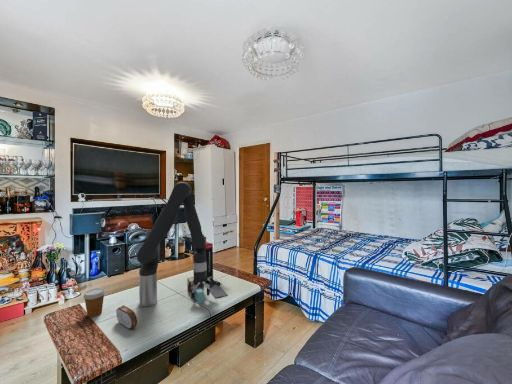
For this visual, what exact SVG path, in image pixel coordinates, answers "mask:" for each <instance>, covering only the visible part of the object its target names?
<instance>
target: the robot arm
mask: <svg viewBox="0 0 512 384" xmlns="http://www.w3.org/2000/svg"><path fill="white" fill-rule="evenodd" d="M172 188H173V189H172V190H171V193H170V195H169V198H168V200H167V202H166V204H165V205H164V206H163V208H162V210H161V211H160V213H159V215H158V217H156V220H155V222H154V224H153V226H152V228H151V230H150V232H149V233H148V236H147V237H146V239H145V241H144V242H143V243H142V246H141V247H139V249H138V251H137V253H136V259H137V261H138V263H139V264H141V266H140V268H139V269H138V270H139V272H138V274H139V275H138V276H139V288H138V289H139V292H138V293H139V294H138V295H139V298H138V299H139V300H138V301H139V307H141V308H142V307H150V306H154V305H155V304H157V302H158V267H159V250H158V247H159V245H160V243H161V242H162V241H163V239H165V237H166V236H167V234H168V233H169V232H170V231H171V229H172V227H173V225H174V224H175V221H176V219H177V217H178V212H179V210H180V207H181V205H183V208H184V216H185V221H186V224H187V228H188V230H189V233H190V238H191V242H192V246H193V245H194V265H193V268H192V269H193V277H194V280H193V281H188V291H187V293H188V292H191V297H192V298H191V299H193V300H194V299H195V298H194V291H195V290H196V289H197V287H198V288H199V287H204V288H205V287H206V295H207V296H208V297H209V296H210V294H211V292H210V288H212V287H213V280H212V277H209V278H207V265H206V253H205V249H206V242H207V241H206V237H205V235H204V234H203V230H202V225H201V221H200V218H199V216H198V212H197V209H196V205H195V202H194V198H193V197H194V196H193V195H194V194H193V189H192V185H191V184H190V183H188V182H186V181H180V182H177V183H175V184H174V187H172ZM207 280H208V281H209V282H207ZM192 283H194V286H193V288H192V289H191V285H192ZM207 283H209V285H208V284H207Z"/></svg>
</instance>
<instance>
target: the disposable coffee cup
mask: <svg viewBox="0 0 512 384" xmlns="http://www.w3.org/2000/svg"><path fill="white" fill-rule="evenodd" d="M105 294H106V290H105V289H104V288H101V287H100V288H98V287H97V288H93V289H89V290H87V291H85V292H84V295H83V299H84V302H85V303H84V305H85V310H86V315H87V317H89V318H95V317H98V316H100V315H101V314H102V312H103V308H104V307H103V305H104V300H105V299H104V297H105Z"/></svg>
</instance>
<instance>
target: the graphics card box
mask: <svg viewBox="0 0 512 384" xmlns="http://www.w3.org/2000/svg"><path fill="white" fill-rule="evenodd" d="M213 247H214V245H213V243H211V242H207V241H206V249H205V253H206V265H207V278H209V277H212V281H214V253H213V251H214V248H213ZM192 252H193V253H192V259H193V265H194V245H193V244H192ZM207 281H208V280H207Z"/></svg>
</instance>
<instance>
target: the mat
mask: <svg viewBox="0 0 512 384" xmlns="http://www.w3.org/2000/svg"><path fill="white" fill-rule="evenodd" d="M217 285H218V284H214V285H213V287H212V288H210V294H211V295H212V296H213V298H214V299H219V298H220V299H221V298H224V297H228V296H229V294H228V293H227V292H226V291H225V290H224V289H223V288H222V287H221V286H220V285H219V286H217Z"/></svg>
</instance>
